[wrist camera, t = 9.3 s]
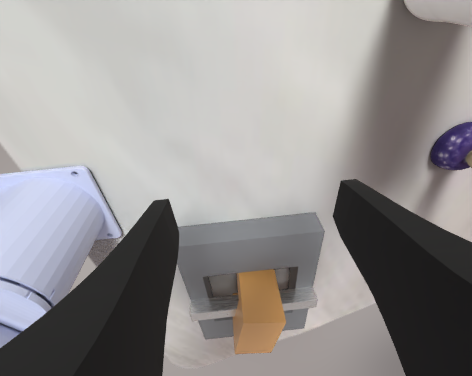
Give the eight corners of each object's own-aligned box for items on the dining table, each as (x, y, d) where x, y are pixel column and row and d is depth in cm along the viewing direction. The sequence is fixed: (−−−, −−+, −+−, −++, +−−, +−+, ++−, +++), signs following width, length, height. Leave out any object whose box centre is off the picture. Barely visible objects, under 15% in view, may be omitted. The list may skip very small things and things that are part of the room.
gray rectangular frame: (205, 320, 36) (205, 339, 34) (174, 227, 24) (171, 247, 22) (299, 310, 36) (304, 328, 34) (315, 212, 24) (324, 231, 22)
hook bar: (193, 307, 28) (192, 321, 27) (190, 300, 27) (189, 314, 26) (311, 293, 28) (315, 307, 27) (312, 286, 28) (317, 299, 26)
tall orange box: (231, 299, 31) (234, 353, 26) (238, 266, 27) (243, 323, 22) (262, 299, 31) (270, 352, 26) (273, 266, 27) (286, 322, 22)
